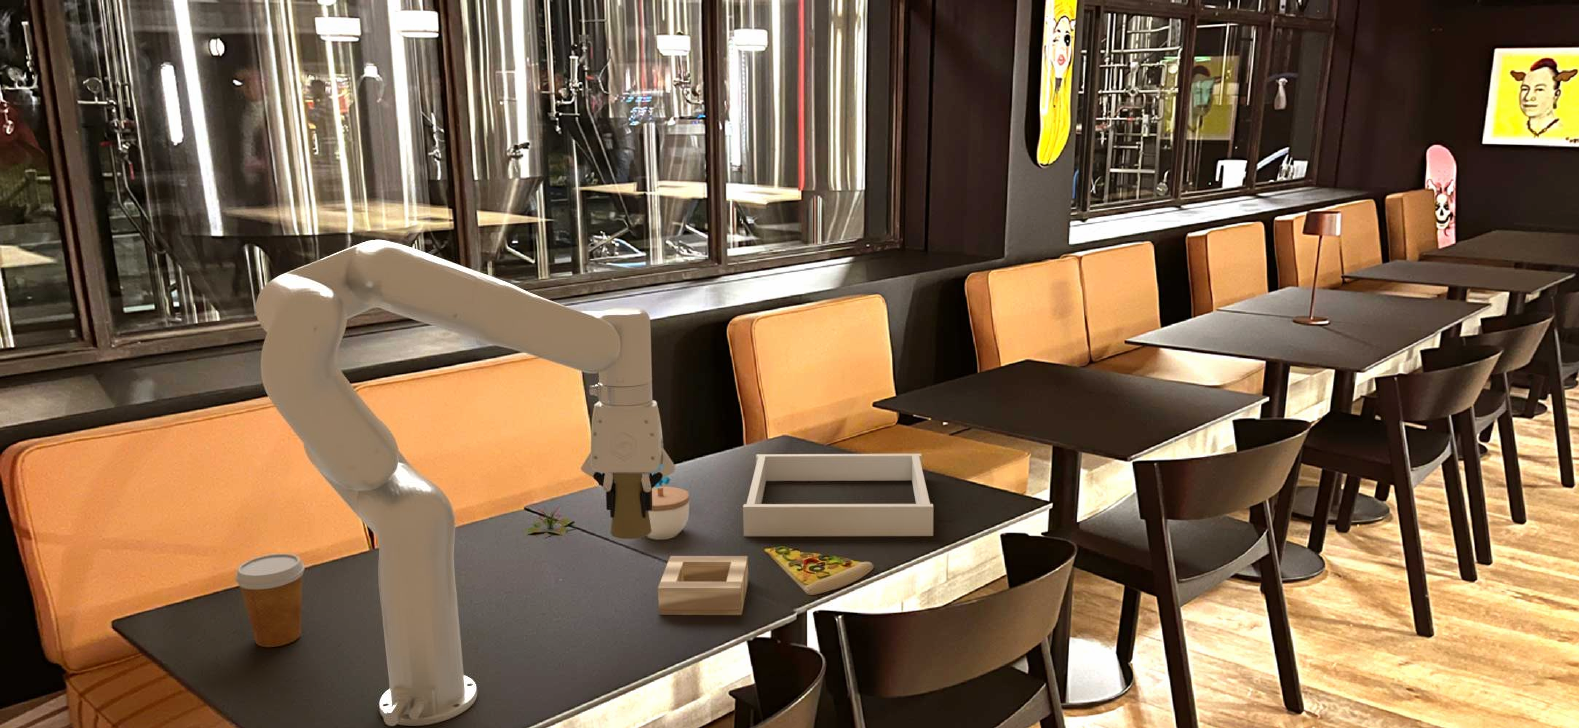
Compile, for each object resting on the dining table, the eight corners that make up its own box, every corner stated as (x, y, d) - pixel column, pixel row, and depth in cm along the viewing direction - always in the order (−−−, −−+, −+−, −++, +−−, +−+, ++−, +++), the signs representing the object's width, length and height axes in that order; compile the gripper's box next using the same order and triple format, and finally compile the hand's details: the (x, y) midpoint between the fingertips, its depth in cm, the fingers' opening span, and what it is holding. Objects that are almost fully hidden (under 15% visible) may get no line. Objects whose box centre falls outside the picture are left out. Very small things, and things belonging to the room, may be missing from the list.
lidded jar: (698, 540, 205) (696, 492, 203) (641, 549, 201) (639, 500, 199) (681, 521, 215) (679, 475, 213) (627, 529, 211) (625, 482, 209)
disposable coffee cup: (293, 618, 175) (284, 547, 172) (324, 635, 169) (315, 561, 167) (232, 640, 168) (222, 566, 165) (262, 658, 162) (252, 582, 159)
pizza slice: (817, 602, 179) (816, 585, 178) (733, 567, 194) (732, 551, 193) (880, 575, 189) (880, 558, 189) (796, 543, 204) (796, 528, 203)
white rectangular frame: (933, 537, 204) (933, 506, 203) (743, 537, 206) (743, 506, 204) (920, 480, 236) (920, 453, 235) (757, 481, 238) (756, 454, 237)
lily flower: (537, 548, 204) (535, 524, 203) (507, 531, 213) (505, 508, 212) (593, 531, 211) (592, 509, 210) (563, 516, 220) (561, 494, 219)
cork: (643, 540, 160) (641, 467, 158) (604, 537, 162) (601, 464, 159) (656, 526, 166) (655, 455, 164) (618, 523, 167) (616, 453, 165)
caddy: (741, 615, 173) (740, 588, 172) (659, 614, 174) (657, 588, 173) (748, 581, 186) (747, 556, 185) (671, 581, 187) (670, 556, 186)
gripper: (562, 399, 156) (567, 522, 160) (679, 400, 156) (682, 524, 159) (575, 387, 164) (579, 505, 167) (687, 388, 163) (689, 507, 167)
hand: (629, 513), depth 163 cm, fingers closed on cork, 3 cm apart
